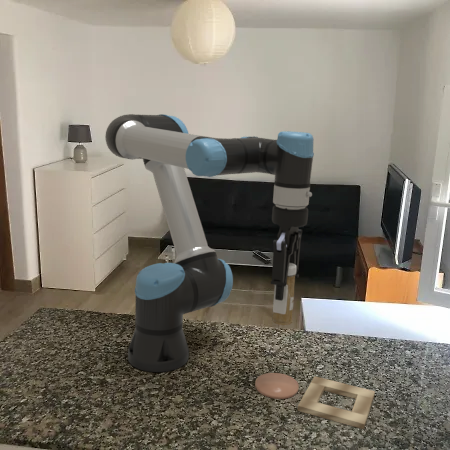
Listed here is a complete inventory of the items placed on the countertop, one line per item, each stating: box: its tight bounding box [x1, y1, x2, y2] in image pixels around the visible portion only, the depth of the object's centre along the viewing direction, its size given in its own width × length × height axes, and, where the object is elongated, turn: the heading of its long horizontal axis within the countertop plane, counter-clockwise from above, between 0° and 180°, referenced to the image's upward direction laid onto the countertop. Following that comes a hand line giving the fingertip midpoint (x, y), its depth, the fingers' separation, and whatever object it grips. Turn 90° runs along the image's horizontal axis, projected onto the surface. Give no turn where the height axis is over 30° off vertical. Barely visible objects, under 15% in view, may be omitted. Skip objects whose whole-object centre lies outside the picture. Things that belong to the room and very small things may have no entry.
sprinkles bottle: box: [271, 263, 297, 326], centre depth 115 cm, size 5×5×13 cm
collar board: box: [297, 376, 376, 430], centre depth 115 cm, size 14×14×1 cm
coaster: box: [254, 372, 300, 400], centre depth 121 cm, size 10×10×1 cm
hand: (282, 308), depth 116 cm, fingers closed on sprinkles bottle, 4 cm apart
